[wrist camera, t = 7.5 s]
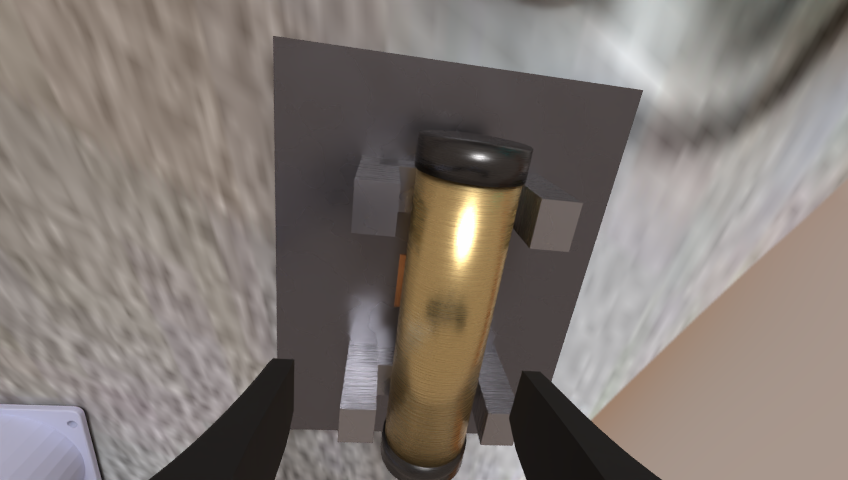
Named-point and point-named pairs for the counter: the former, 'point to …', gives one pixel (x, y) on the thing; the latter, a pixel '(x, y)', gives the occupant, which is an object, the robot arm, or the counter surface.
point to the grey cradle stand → (391, 212)
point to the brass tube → (448, 295)
